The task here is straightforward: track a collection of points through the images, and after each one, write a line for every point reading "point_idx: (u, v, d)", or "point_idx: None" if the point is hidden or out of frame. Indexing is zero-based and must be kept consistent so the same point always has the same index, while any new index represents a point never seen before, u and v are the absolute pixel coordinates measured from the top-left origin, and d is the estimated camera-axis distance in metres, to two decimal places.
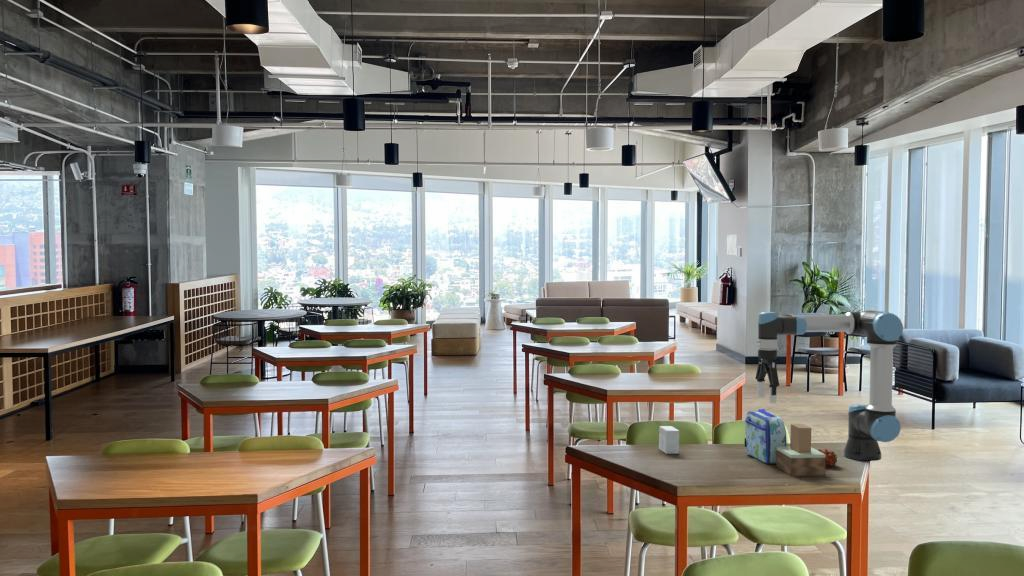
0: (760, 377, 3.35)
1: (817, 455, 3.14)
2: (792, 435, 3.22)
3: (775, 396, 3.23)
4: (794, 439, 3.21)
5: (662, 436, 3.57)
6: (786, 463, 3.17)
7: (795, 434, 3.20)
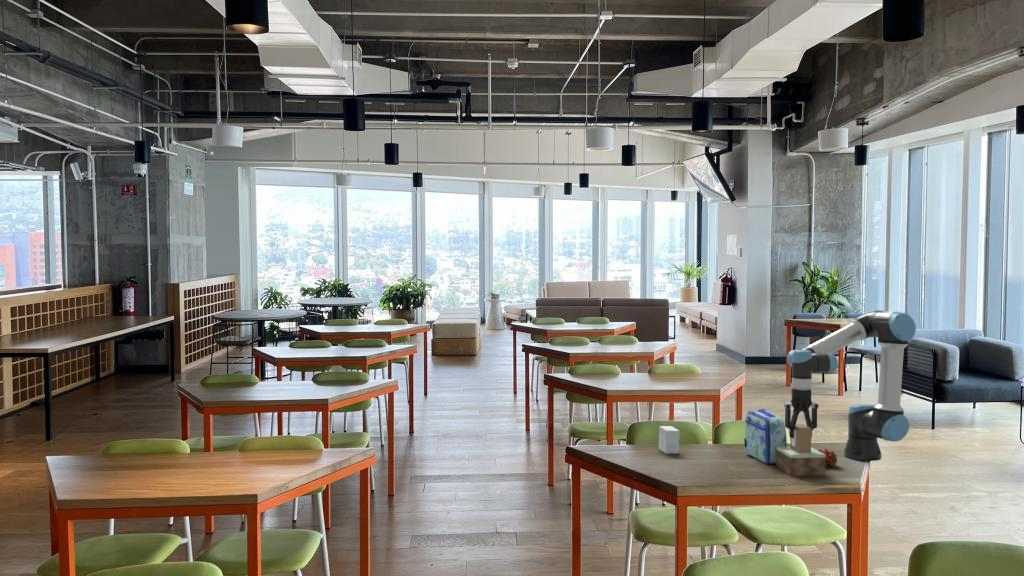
0: (806, 422, 3.21)
1: (817, 455, 3.14)
2: None
3: (793, 439, 3.19)
4: None
5: (662, 436, 3.57)
6: (786, 463, 3.17)
7: None
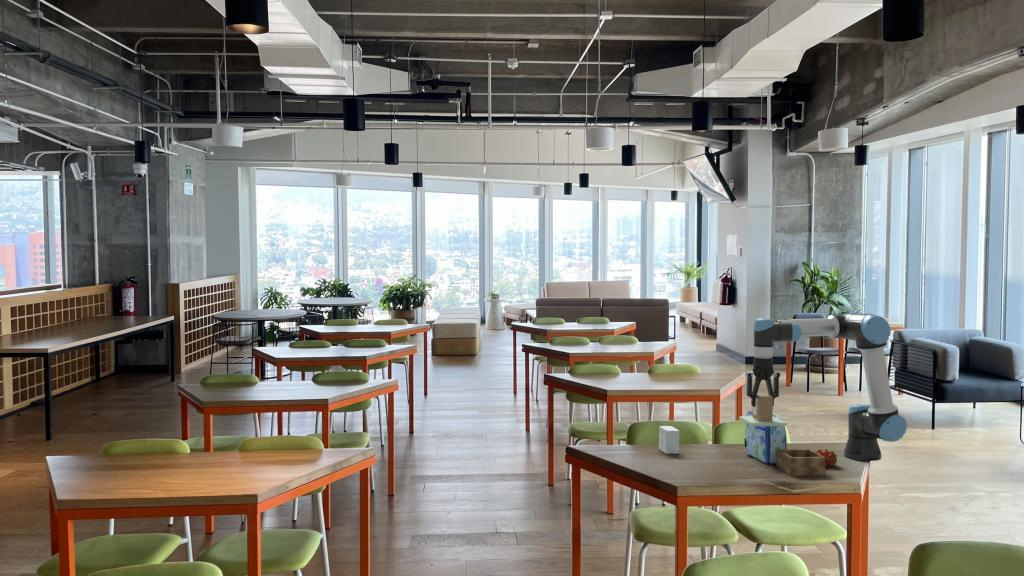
0: (768, 391, 3.20)
1: (778, 423, 3.12)
2: None
3: (755, 408, 3.18)
4: None
5: (662, 436, 3.57)
6: (786, 463, 3.17)
7: None
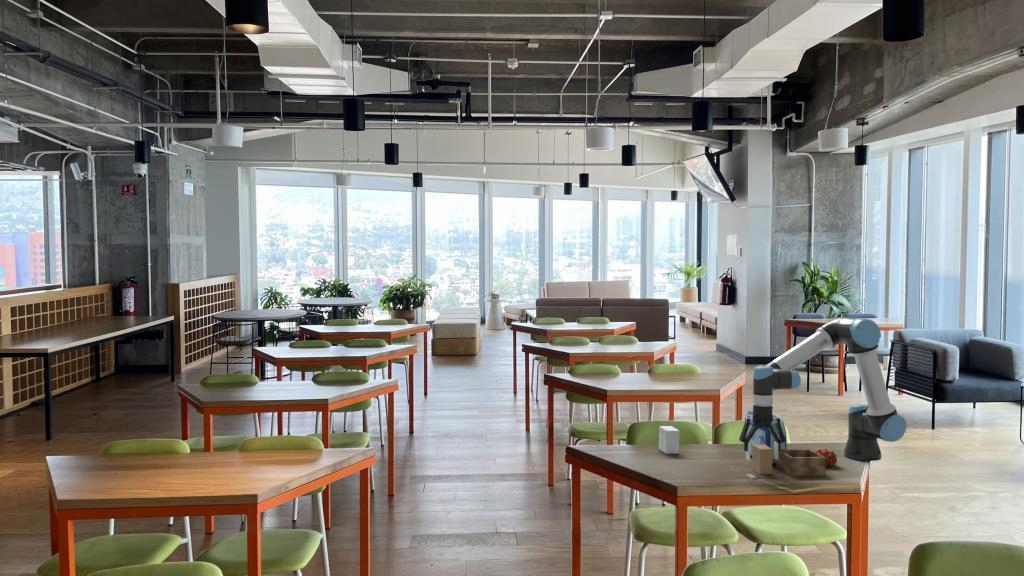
0: (773, 436, 3.20)
1: None
2: (754, 456, 3.21)
3: (747, 453, 3.18)
4: (755, 460, 3.20)
5: (662, 436, 3.57)
6: (786, 463, 3.17)
7: (756, 455, 3.19)
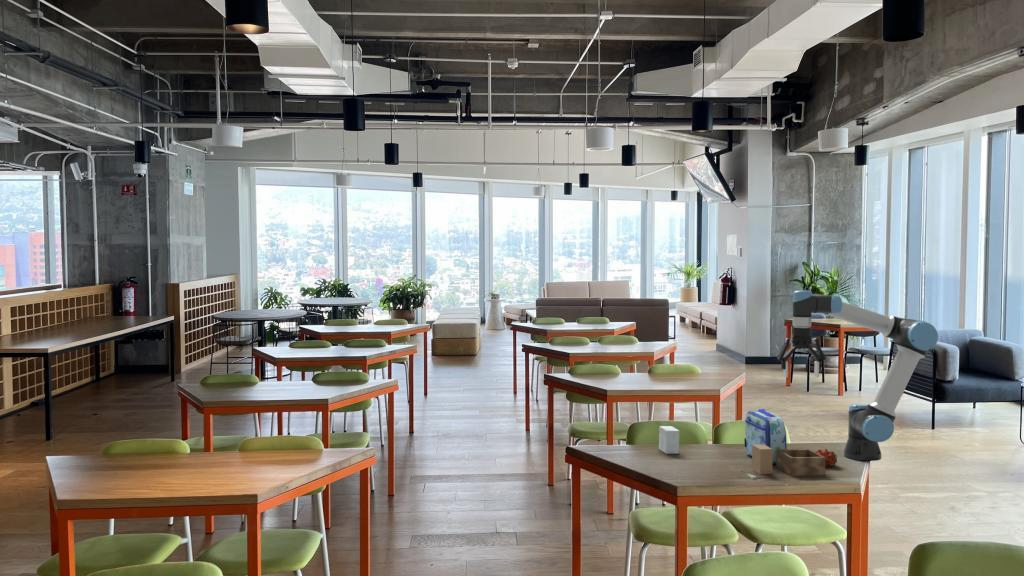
0: (813, 356, 3.37)
1: None
2: (754, 456, 3.21)
3: (785, 370, 3.35)
4: (755, 460, 3.20)
5: (662, 436, 3.57)
6: (786, 463, 3.17)
7: (756, 455, 3.19)
